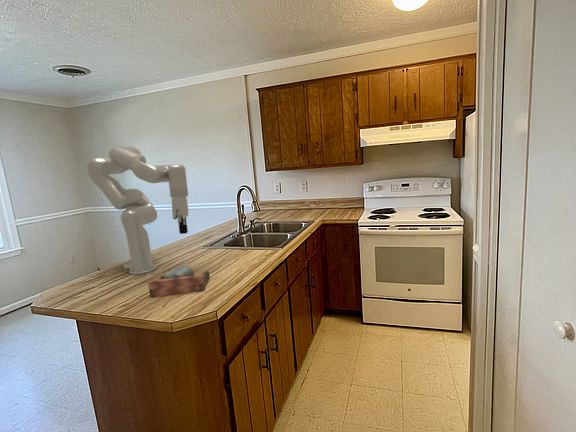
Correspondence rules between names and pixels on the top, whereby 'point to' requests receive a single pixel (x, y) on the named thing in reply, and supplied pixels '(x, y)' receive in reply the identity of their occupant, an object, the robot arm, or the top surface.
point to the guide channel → (178, 285)
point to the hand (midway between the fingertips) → (183, 233)
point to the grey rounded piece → (180, 272)
